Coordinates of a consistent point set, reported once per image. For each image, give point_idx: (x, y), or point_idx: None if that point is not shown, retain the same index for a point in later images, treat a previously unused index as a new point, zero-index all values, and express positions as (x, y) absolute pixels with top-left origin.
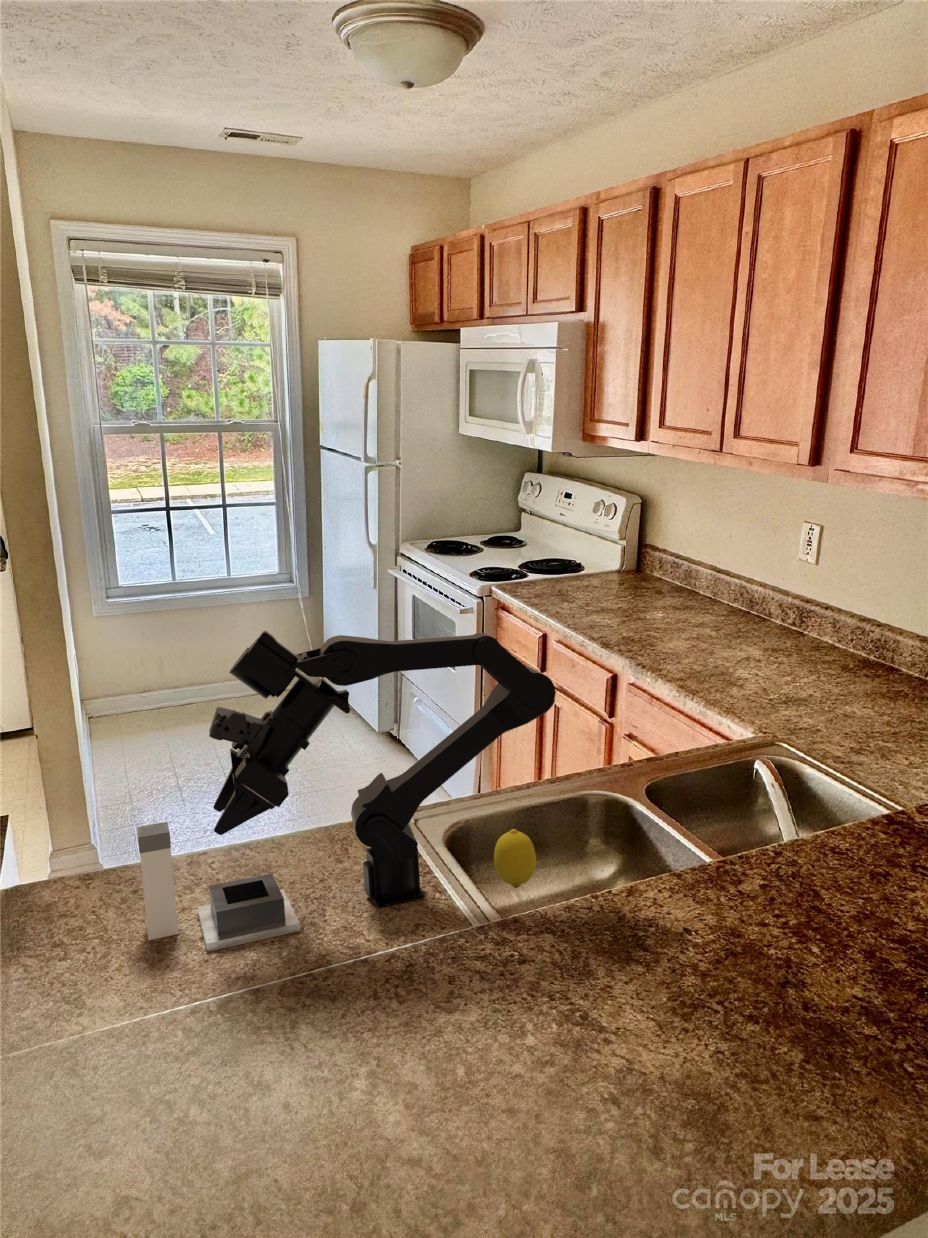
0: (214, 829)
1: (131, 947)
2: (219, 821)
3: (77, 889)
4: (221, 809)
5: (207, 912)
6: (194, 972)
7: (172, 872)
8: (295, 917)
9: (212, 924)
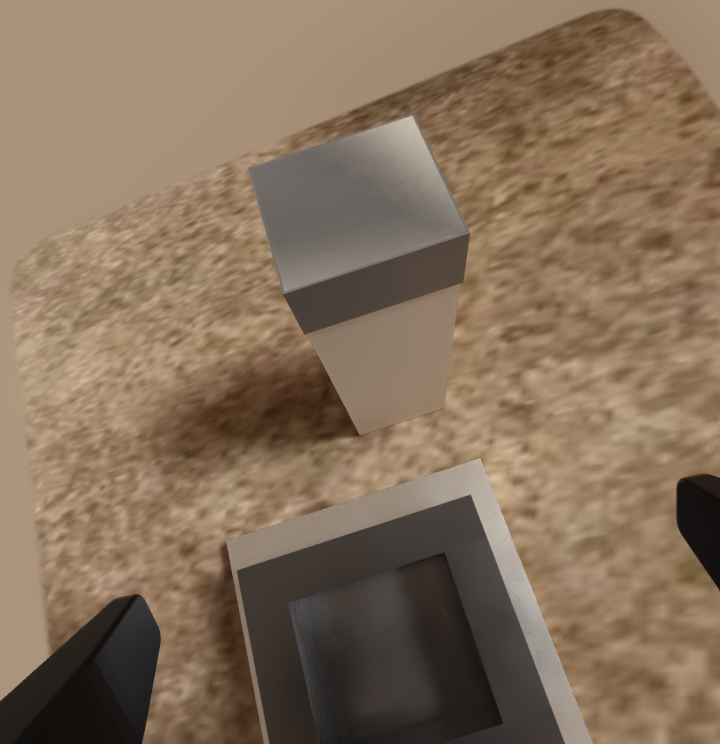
0: (112, 602)
1: None
2: (43, 665)
3: (674, 102)
4: (695, 542)
5: (433, 499)
6: (138, 530)
7: (328, 374)
8: None
9: (345, 533)
